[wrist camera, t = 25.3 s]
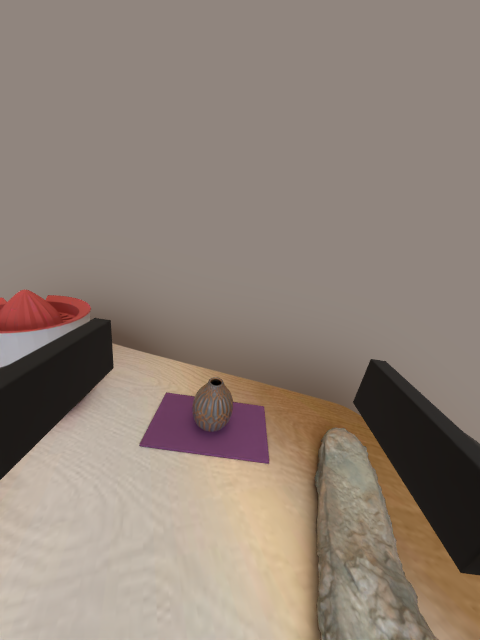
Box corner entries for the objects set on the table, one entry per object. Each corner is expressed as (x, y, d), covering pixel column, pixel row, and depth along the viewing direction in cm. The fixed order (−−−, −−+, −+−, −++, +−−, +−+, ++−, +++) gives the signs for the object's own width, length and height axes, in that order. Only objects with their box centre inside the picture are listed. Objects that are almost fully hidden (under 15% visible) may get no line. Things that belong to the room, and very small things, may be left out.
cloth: (263, 407, 46) (263, 406, 46) (268, 463, 35) (269, 462, 34) (166, 394, 45) (166, 392, 45) (139, 446, 34) (139, 444, 34)
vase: (216, 446, 36) (223, 402, 32) (182, 426, 38) (185, 384, 35) (236, 418, 42) (243, 379, 38) (205, 403, 44) (210, 365, 41)
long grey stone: (365, 453, 41) (309, 436, 43) (373, 430, 39) (314, 413, 41) (603, 1236, 8) (317, 991, 10) (707, 1278, 7) (345, 981, 9)
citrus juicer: (86, 361, 51) (77, 274, 44) (108, 408, 40) (100, 301, 33) (-16, 384, 41) (-50, 275, 34) (-26, 457, 29) (-81, 314, 22)
